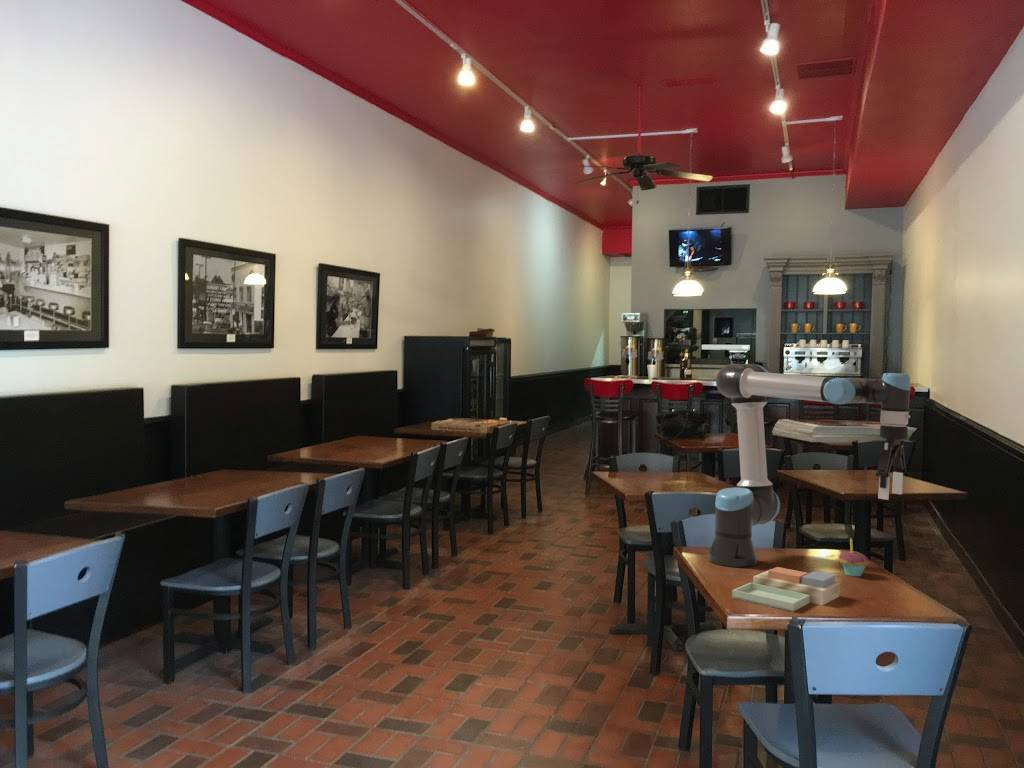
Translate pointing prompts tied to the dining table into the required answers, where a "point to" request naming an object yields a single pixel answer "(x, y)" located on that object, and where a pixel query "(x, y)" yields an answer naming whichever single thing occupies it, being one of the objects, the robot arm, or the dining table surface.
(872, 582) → the dining table surface
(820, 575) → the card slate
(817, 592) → the beige flat box
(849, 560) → the cupcake
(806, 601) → the tray
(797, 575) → the orange flat block
